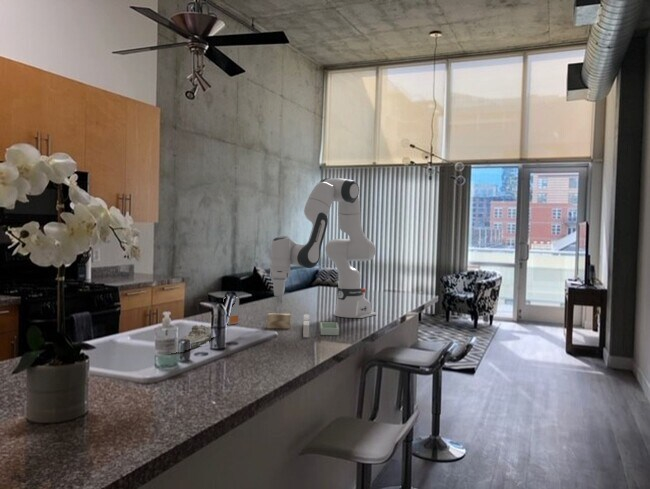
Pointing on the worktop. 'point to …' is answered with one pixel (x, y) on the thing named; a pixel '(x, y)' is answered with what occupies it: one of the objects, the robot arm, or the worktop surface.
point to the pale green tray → (329, 328)
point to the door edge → (306, 326)
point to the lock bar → (278, 320)
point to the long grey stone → (198, 335)
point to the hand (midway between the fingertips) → (279, 304)
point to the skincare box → (234, 313)
